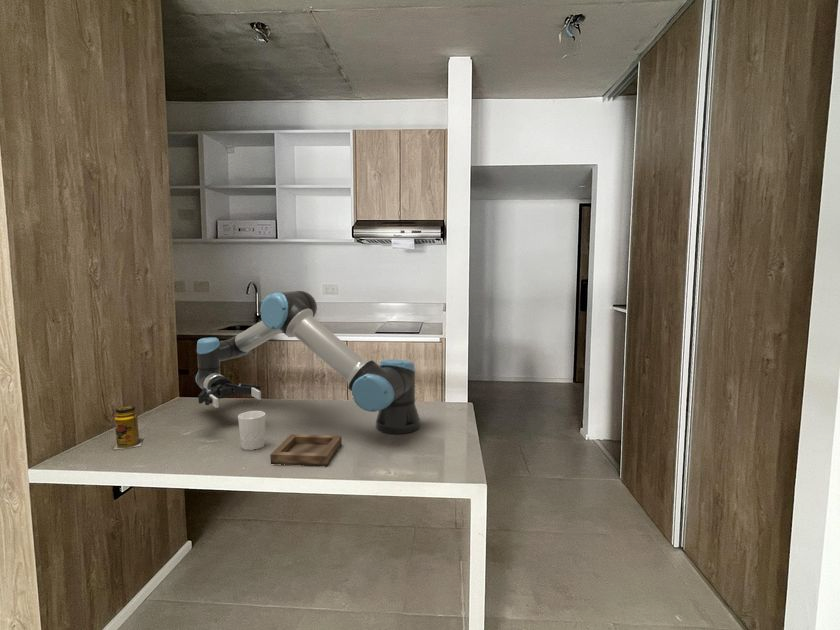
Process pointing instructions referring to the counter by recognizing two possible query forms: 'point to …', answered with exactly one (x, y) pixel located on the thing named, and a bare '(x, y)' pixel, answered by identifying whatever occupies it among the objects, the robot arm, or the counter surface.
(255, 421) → the white cup
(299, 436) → the wooden tray
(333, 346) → the robot arm
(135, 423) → the condiment
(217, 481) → the counter surface
